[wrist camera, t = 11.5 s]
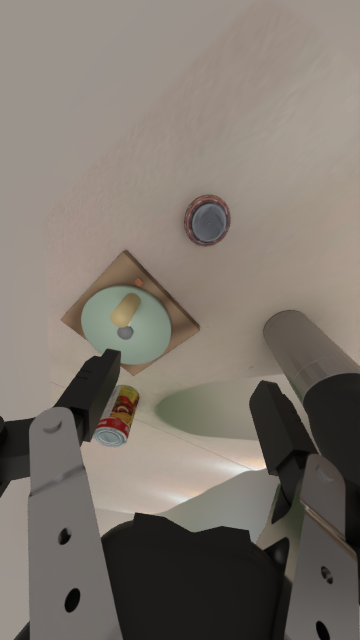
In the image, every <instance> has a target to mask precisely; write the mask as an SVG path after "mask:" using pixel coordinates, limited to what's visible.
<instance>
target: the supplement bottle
mask: <svg viewBox="0 0 360 640" xmlns="http://www.w3.org/2000/svg"><path fill="white" fill-rule="evenodd" d="M230 220H231V217H230V211H229V208H228V206H227V205H226V203H225V202H224V201H223V200H222V199H221V198H219V197H217V196H214V195H204V196H201V197H198V198H197V199H195V200H194V201H193V202H192V203H191V204H190V206H189V207H188V209H187V211H186V214H185V220H184V225H185V230H186V233H187V235H188V237H189V238H190V239H191V240H192V241H193V242H194V243H196V244H198V245H200V246H211V245H214V244H216V243H218V242H219V241H221V240H222V239H223V238H224V236H225V235H226V233H227V232H228V229H229V226H230Z"/></svg>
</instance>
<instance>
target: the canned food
mask: <svg viewBox="0 0 360 640" xmlns="http://www.w3.org/2000/svg"><path fill="white" fill-rule="evenodd" d="M138 400H139V394H138V392H137V391H136V390H135V389H134V388H132V387H130V386H126V385H120V386H117V387H115V388H114V390H113V392H112V394H111V396H110V399H109V401H108V403H107V405H106V408H105V410H104V412H103V414H102V417H101V419H100V421H99V423H98V426H97V428H96V430H95V432H94V435H93V437H94V439H95V440H96V441H97V442H98V443H100V444H102V445H104V446H108V447H121V446H123V445H125V444H126V442H127V439H128V435H129V432H130V428H131V425H132V421H133V418H134V414H135V411H136V407H137V404H138Z"/></svg>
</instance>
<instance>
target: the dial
mask: <svg viewBox="0 0 360 640" xmlns="http://www.w3.org/2000/svg"><path fill="white" fill-rule="evenodd" d="M81 324H82V329H83V332H84V334H85V336H86V338H87V340H88V341H89V343H90V344H91V345H92V346H93V347H94V348H95V349H96V350H97V351H98V352H99V353H100V354H102V355H103V353H104V352H105V350H106V349H107V348H109V349H114V350H119V351H121V363H123V364H129V365H138V364H144V363H148V362H151V361H153V360H155V359H156V358H158V357H159V356H161V355H162V354H163V353H164V351H165V350H166V348H167V347H168V344H169V342H170V337H171V331H172V324H171V319H170V316H169V313H168V312H167V310H166V308H165V307H164V305H163V304H162V303H161V302H160V300H159V299H157V298H156V297H155V296H154V295H152V294H151V293H149V292H148V291H146V290H144V289H141V288H139V287H136V286H132V285H112V286H109V287H106V288H104V289H102V290H100V291H99V292H97V293H96V294H95V295H94V296H92V297H91V298H90V299H89V300H88V302H87V303H86V304H85V306H84V308H83V311H82V316H81Z"/></svg>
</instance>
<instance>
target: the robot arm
mask: <svg viewBox="0 0 360 640" xmlns="http://www.w3.org/2000/svg"><path fill="white" fill-rule="evenodd" d="M263 334H264V338H265V340H266V342H267V344H268V345H269V347H270V349H271V351H272V353H273V354H274V356H275V358H276V360H277V362H278V363H279V365H280V367H281V369H282V370H283V372H284V374H285V376H286V377H287V379H288V381H289V383H290V385H291V386H292V388H293V390H294V391H295V393H296V395H297V397H298V398H299V400H300V402H301V404H302V405H303V407H304V409H305V411H306V413H307V415H308V418H309V423H310V428H311V432H312V435H313V437H314V440H315V442H316V444H317V446H318V448H319V451H320V452H321V455H322V456H321V455H319V453H318V452H317V450H316V448H315V446H314V444H313V442H312V440H311V438H310V437H309V434H308V433H307V430H306V429H305V427H304V425H303V423H302V422H301V419H300V417H299V415H298V414H297V411H296V409H295V407H294V405H293V403H292V402H291V401H290V400H289V399H288V398H287V397H286V395H285V394H282V392H281V390H280V388H279V387H278V385H277V384H276V383H273V382H268V381H264V380H262V381H260V383H259V384H258V386H257V388H256V389H255V391H254V393H253V394H252V396H251V398H250V402H249V406H250V411H251V414H252V418H253V421H254V425H255V428H256V431H257V435H258V439H259V442H260V446H261V449H262V453H263V456H264V459H265V463H266V466H267V469H268V473H269V475H275V476H279V479H280V483H279V484H278V486H277V489H276V492H275V496H274V499H273V502H272V505H271V509H270V512H269V516H268V519H267V522H266V525H265V527H264V529H263V531H262V532H261V534H260V535H259V537H258V540H257V541H256V544H254V543H253V542H251V540H250V534H249V531H248V530H243V529H236V528H230V527H224V526H220V527H216V528H212V529H208V530H204V531H200V532H195V533H194V532H190V531H188V530H187V529H184V528H183V527H181V526H179V525H177V524H176V523H174V522H172V521H170V520H168V519H167V518H165V517H161V516H155V515H149V514H142V513H136V512H135V516H134V519H133V520H132V521H127V522H124V523H122V524H119V525H117V526H116V527H114V528H112V529H111V530H109V531H108V532H107V533H105V534H104V535H103V536H102V537H101V538H100V534H99V529H98V524H97V519H96V515H95V510H94V505H93V501H92V496H91V491H90V487H89V482H88V477H87V473H86V469H85V466H84V464H83V459H82V455H81V450H80V447H81V445H82V442H83V441H86V442H90V441H91V439H92V437H93V435H94V432H95V430H96V428H97V426H98V423H99V421H100V419H101V417H102V414H103V412H104V410H105V408H106V405H107V403H108V401H109V399H110V396H111V394H112V392H113V390H114V387H115V385H116V383H117V380H118V377H119V373H120V363H121V351H119V350H114V349H109V348H107V349H106V350H105V352H104V353H103V355H102V356H101V357H98V356H93V357H92V358H90V359H89V360H87V361H86V362H85V363H84V365H83V366H82V368H81V369H80V371H79V372H78V373H77V375H76V376H75V378H74V379H73V380H72V382H71V383H70V384H69V386H68V387H67V389H66V390H65V391H64V393H63V394H62V396H61V397H60V398H59V400H58V401H57V403H56V404H55V405H54V406H53V407H52V408H50V409H48V410H46V411H44V412H42V413H41V414H40V415H38V416H37V417H34V418H30V419H24V420H15V421H7V422H4V420H3V418H2V417H1V416H0V497H1V496H2V494H3V493H4V491H5V489H6V488H7V486H8V485H9V483H10V481H11V480H16V479H21V478H26V477H30V479H31V492H30V495H29V498H28V551H29V606H30V621H29V622H28V623H27V625H26V626H25V627H24V628H23V629H22V630H21V632H20V633H19V634H18V635H17V636H16V638H15V639H14V640H360V632H359V605H360V366H359V365H358V364H357V363H356V362H355V361H354V360H353V359H351V358H350V357H349V356H348V355H347V354H346V353H345V352H344V351H343V350H342V349H341V348H340V347H339V346H337V345H336V344H335V343H334V342H333V341H332V340H331V339H330V338H329V337H328V336H327V335H326V334H325V333H323V332H322V331H321V330H320V329H319V328H318V327H317V326H316V325H315V324H314V323H313V322H312V321H311V320H310V319H308V318H307V317H306V316H305V315H304V314H303V313H300V312H297V311H285V312H281V313H279V314H277V315H275V316H274V317H272V318H271V319H270V320H269V321H268V322H267V324H266V325H265V328H264V333H263Z"/></svg>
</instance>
